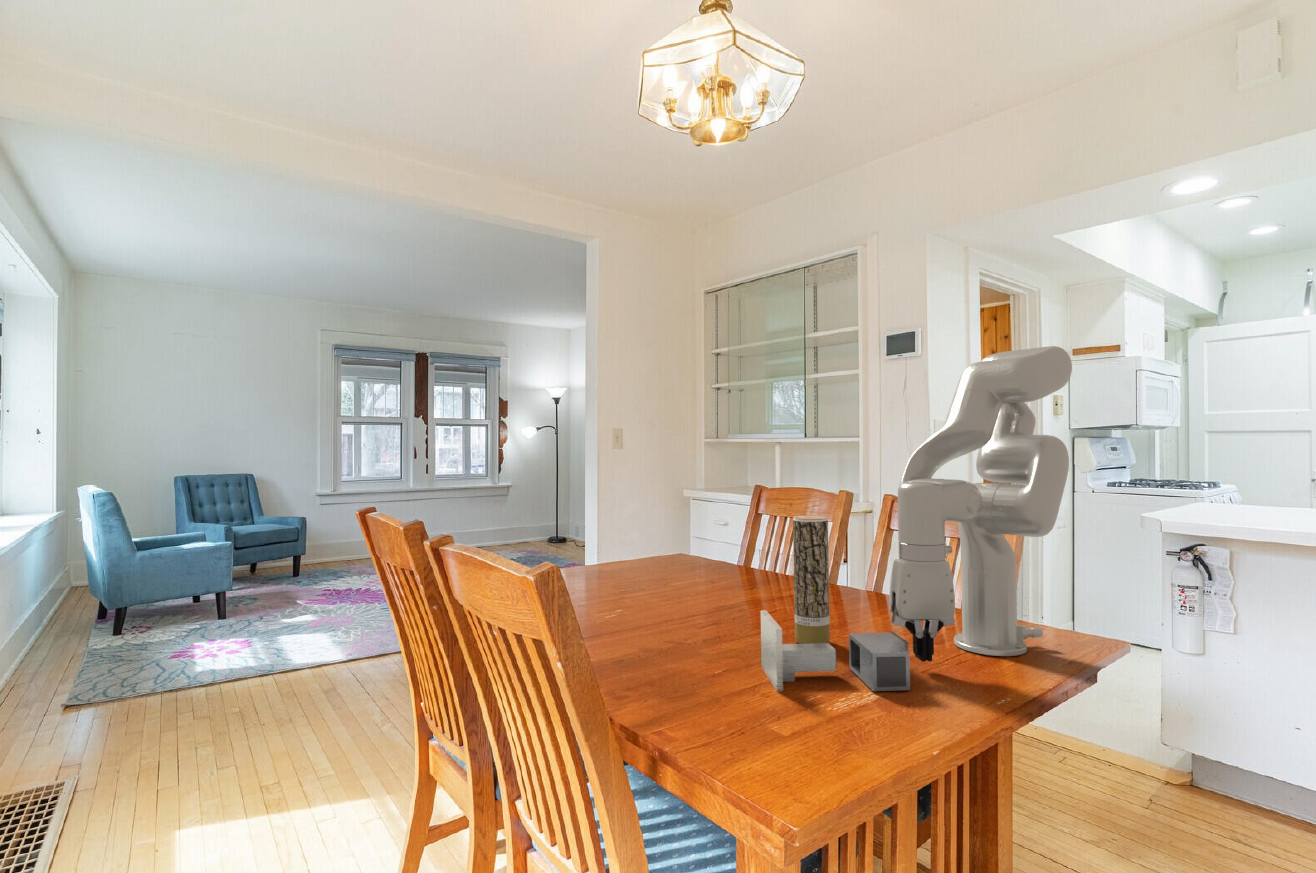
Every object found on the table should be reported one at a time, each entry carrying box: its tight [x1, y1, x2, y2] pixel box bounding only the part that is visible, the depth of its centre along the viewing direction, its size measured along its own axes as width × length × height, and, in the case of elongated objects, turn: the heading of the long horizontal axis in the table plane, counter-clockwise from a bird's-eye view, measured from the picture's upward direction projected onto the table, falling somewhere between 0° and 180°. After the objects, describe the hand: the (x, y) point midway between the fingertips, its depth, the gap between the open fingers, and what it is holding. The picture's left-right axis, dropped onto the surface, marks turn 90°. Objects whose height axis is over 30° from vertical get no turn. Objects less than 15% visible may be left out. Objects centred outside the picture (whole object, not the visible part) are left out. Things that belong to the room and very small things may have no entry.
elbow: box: [848, 631, 911, 692], centre depth 110 cm, size 8×11×6 cm
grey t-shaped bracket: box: [760, 609, 838, 692], centre depth 112 cm, size 11×12×10 cm
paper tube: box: [792, 515, 831, 644], centre depth 131 cm, size 7×7×25 cm
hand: (923, 658), depth 114 cm, fingers closed
